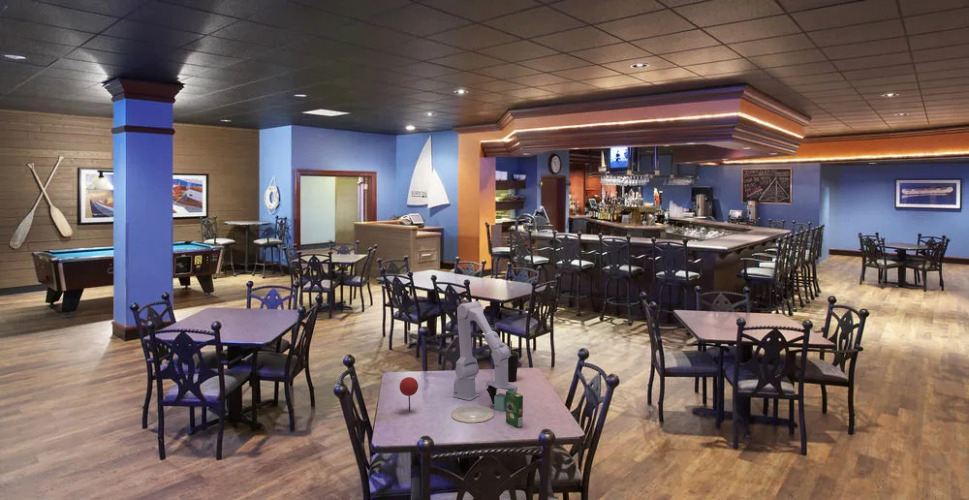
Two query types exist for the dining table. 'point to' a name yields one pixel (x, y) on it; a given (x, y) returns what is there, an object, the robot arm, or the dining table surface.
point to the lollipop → (408, 387)
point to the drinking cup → (512, 365)
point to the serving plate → (472, 414)
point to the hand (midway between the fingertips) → (501, 405)
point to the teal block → (500, 402)
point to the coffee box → (514, 408)
